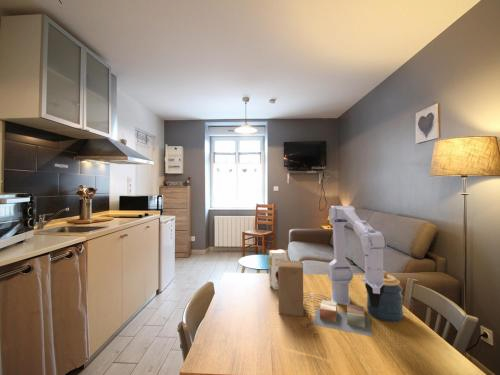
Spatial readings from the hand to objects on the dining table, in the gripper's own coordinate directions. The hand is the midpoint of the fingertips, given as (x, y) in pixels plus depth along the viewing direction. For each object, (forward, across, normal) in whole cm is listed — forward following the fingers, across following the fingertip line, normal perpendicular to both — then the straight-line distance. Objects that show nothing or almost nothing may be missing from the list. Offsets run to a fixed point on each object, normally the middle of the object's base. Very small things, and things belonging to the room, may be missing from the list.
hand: (374, 306), depth 83 cm
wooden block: (+11, -7, -31) cm, 34 cm away
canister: (+11, -18, +5) cm, 22 cm away
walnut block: (+8, -4, -6) cm, 11 cm away
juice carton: (+11, -29, -43) cm, 53 cm away
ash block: (+8, -4, -16) cm, 18 cm away
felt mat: (+10, -6, -11) cm, 16 cm away
